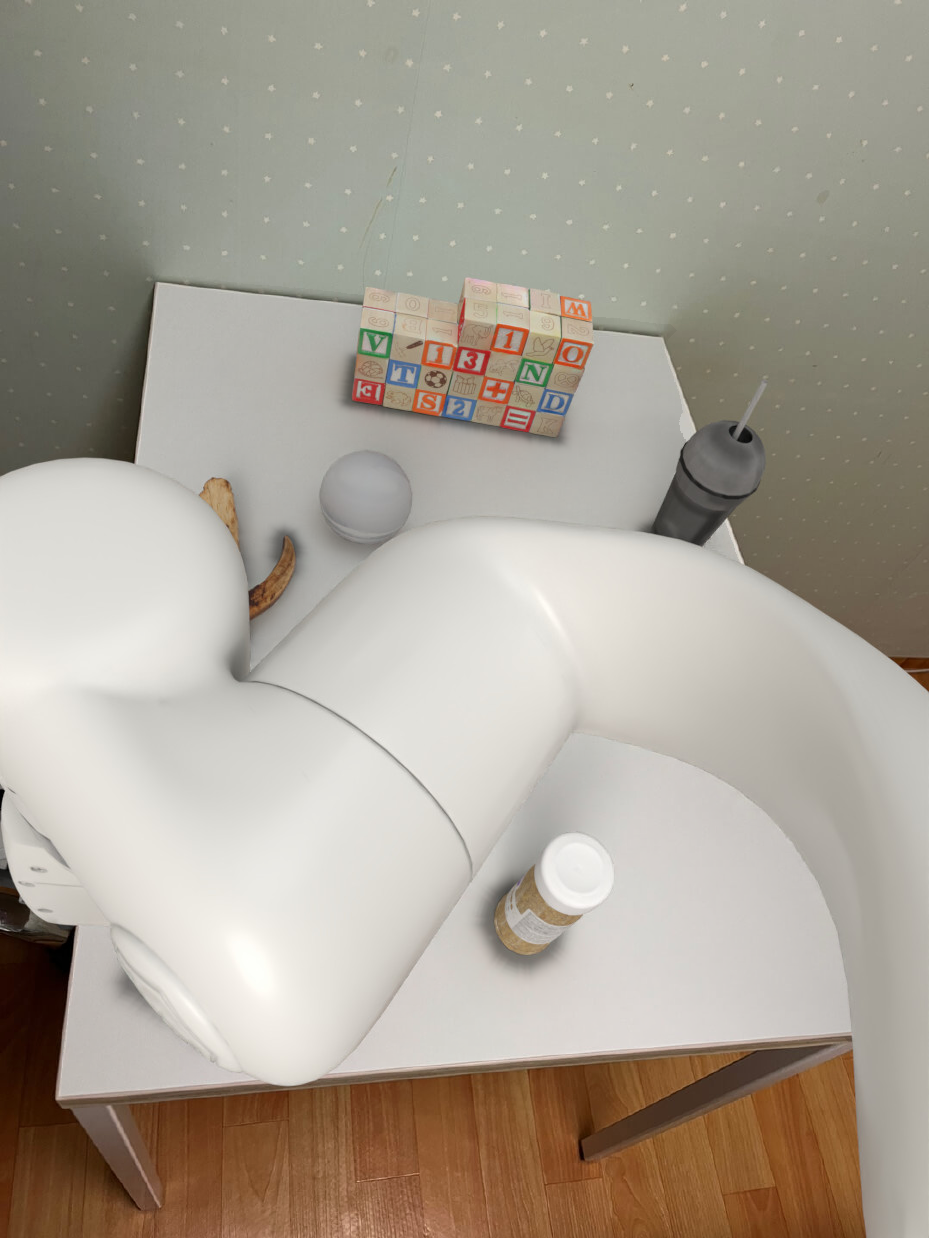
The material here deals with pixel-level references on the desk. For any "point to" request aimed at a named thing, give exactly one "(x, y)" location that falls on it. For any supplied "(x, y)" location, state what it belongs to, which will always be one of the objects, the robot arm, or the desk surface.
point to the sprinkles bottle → (555, 892)
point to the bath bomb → (365, 497)
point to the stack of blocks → (475, 354)
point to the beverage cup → (712, 478)
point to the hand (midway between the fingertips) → (176, 896)
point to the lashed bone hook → (274, 585)
